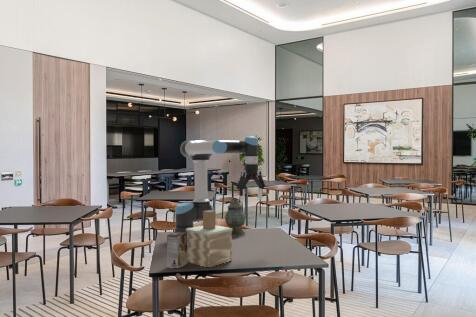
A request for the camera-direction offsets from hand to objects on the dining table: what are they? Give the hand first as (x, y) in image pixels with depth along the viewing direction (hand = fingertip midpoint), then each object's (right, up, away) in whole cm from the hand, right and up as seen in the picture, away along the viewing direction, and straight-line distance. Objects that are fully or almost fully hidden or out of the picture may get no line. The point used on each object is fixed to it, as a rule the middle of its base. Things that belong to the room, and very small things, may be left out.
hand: (251, 200), depth 210 cm
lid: (-23, -13, -22) cm, 34 cm away
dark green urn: (-10, -28, +45) cm, 54 cm away
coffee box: (-38, -29, -29) cm, 56 cm away
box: (-23, -29, -22) cm, 43 cm away
